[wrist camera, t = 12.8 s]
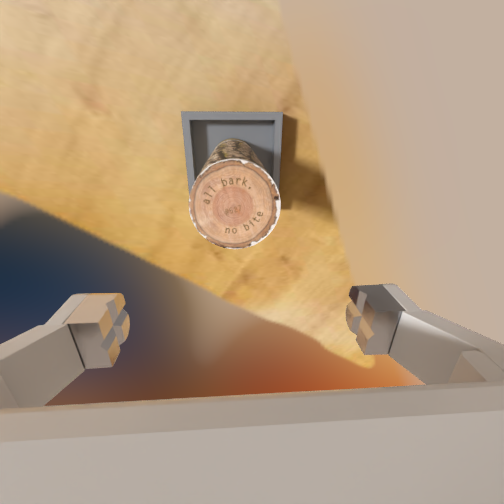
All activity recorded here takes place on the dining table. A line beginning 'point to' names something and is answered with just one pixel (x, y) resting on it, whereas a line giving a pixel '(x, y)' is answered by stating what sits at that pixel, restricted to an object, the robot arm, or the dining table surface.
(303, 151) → the dining table surface
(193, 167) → the tray
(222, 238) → the paper tube
